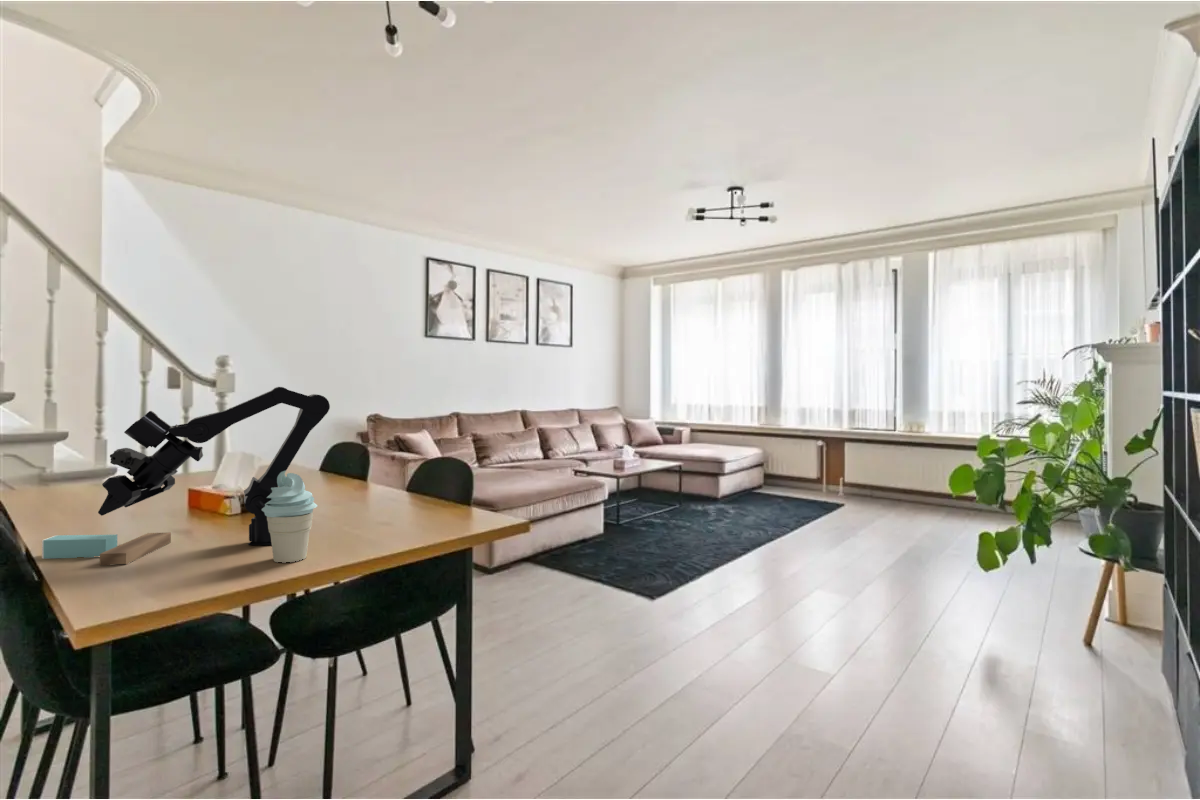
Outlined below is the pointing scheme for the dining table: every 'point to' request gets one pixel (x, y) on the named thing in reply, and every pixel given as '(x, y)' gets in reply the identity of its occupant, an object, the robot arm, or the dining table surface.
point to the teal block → (77, 545)
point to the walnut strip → (135, 548)
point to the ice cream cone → (289, 518)
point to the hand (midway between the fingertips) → (112, 509)
